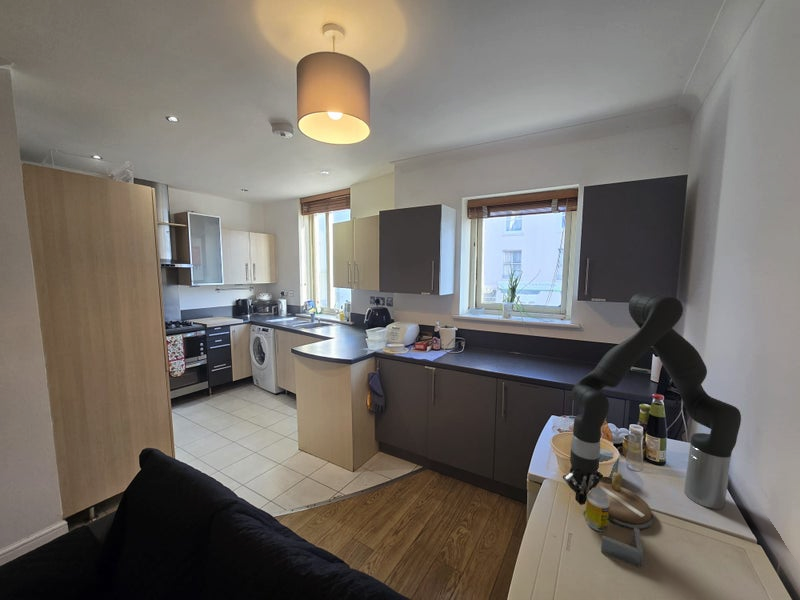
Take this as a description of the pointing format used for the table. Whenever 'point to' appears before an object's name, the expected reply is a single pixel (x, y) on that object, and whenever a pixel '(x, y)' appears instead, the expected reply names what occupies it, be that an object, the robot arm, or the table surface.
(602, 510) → the supplement bottle
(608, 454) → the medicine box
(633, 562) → the centring stop
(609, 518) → the base
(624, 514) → the disc
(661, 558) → the table surface
